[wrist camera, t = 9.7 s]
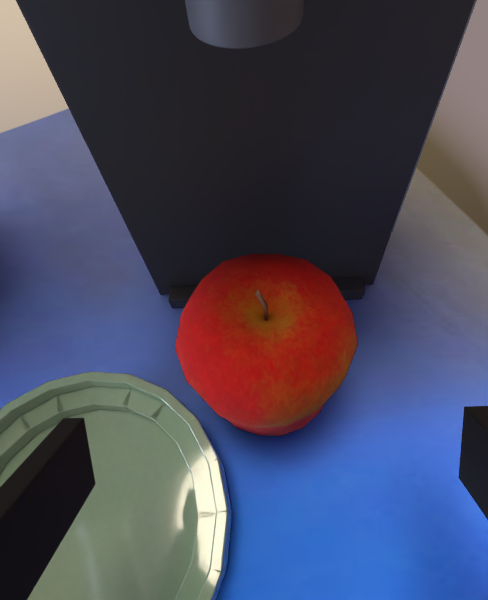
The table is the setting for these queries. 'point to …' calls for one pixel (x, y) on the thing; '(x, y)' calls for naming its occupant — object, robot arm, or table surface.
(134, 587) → the dish
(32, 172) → the table surface
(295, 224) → the coffee maker
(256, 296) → the apple
